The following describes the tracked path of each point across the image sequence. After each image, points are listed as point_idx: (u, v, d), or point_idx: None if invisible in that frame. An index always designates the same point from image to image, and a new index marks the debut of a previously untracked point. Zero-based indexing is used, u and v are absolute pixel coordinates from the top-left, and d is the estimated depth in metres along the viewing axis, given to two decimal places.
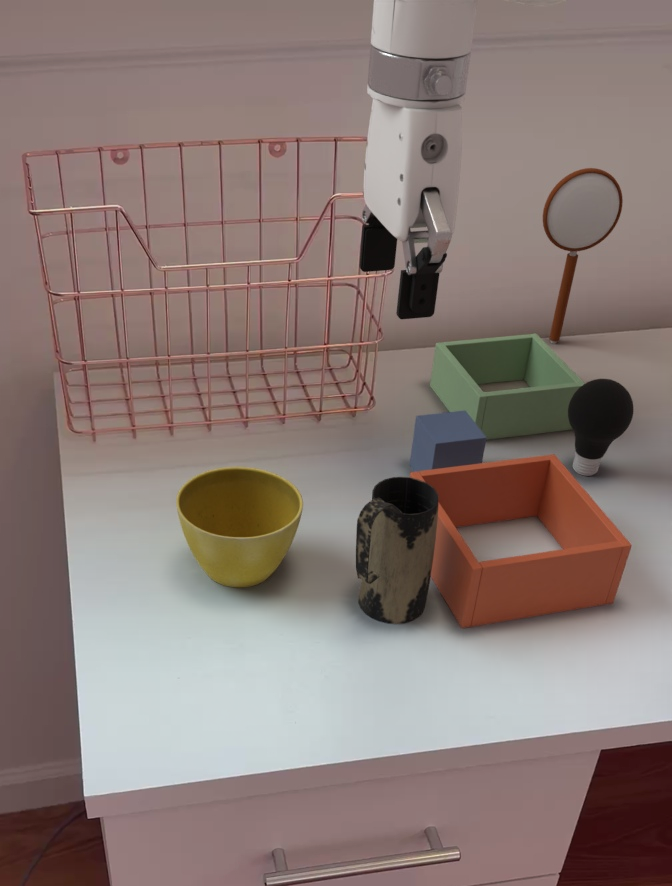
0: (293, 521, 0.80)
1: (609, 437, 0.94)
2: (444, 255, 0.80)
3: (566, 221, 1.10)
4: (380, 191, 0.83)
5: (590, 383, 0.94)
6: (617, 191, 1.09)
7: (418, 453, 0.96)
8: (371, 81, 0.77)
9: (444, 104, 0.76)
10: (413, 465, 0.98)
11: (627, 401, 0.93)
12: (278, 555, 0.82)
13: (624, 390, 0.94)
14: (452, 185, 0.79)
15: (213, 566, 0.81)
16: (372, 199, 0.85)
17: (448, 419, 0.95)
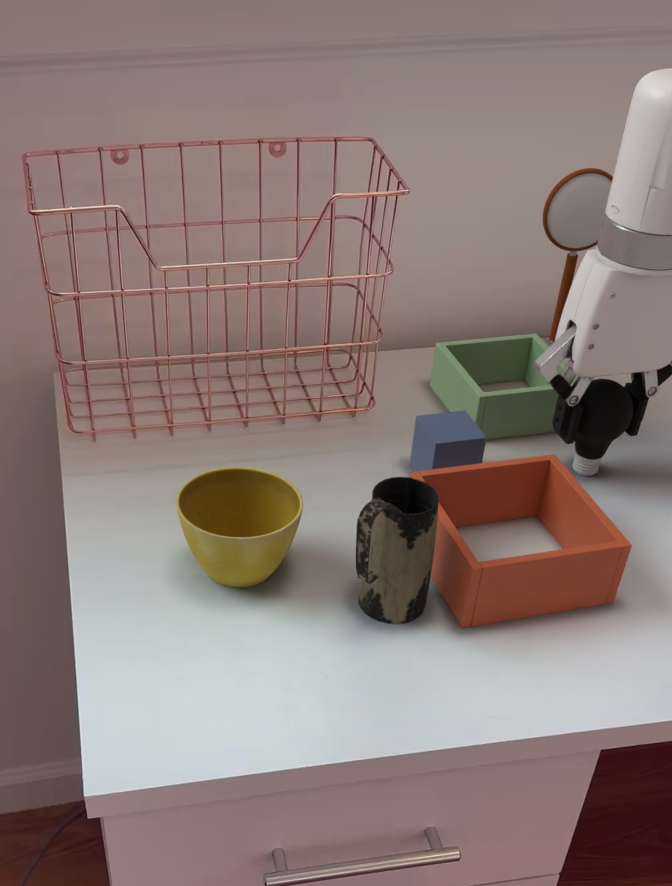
0: (293, 521, 0.80)
1: (609, 437, 0.94)
2: None
3: (566, 221, 1.10)
4: (637, 347, 0.89)
5: (590, 383, 0.94)
6: None
7: (418, 453, 0.96)
8: (668, 263, 0.82)
9: None
10: (413, 465, 0.98)
11: (627, 401, 0.93)
12: (278, 555, 0.82)
13: (624, 390, 0.93)
14: None
15: (213, 566, 0.81)
16: (612, 363, 0.89)
17: (448, 419, 0.95)
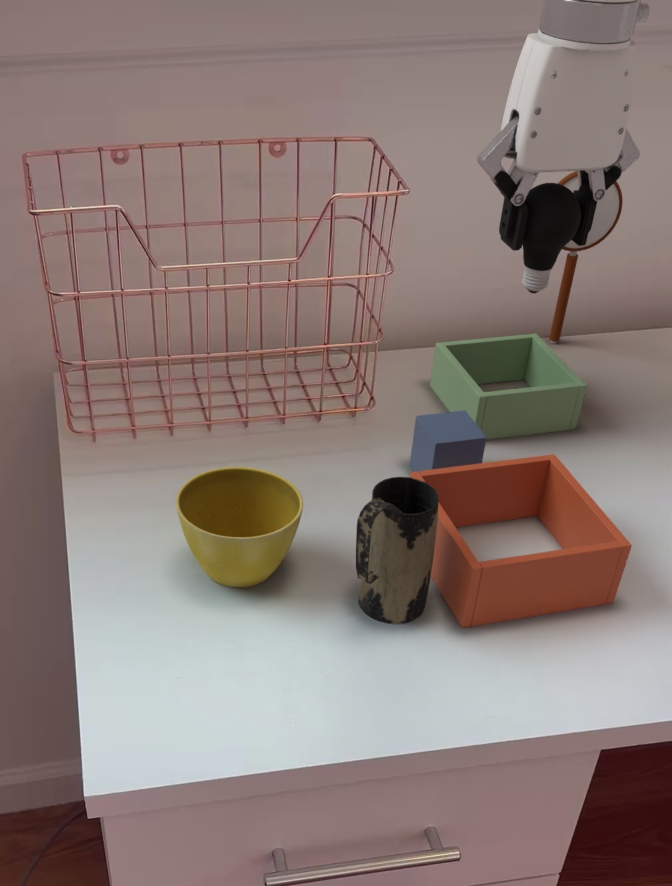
0: (293, 521, 0.80)
1: (556, 242, 0.93)
2: None
3: None
4: (582, 138, 0.87)
5: (536, 186, 0.92)
6: (617, 191, 1.09)
7: (418, 453, 0.96)
8: (609, 36, 0.81)
9: None
10: (413, 465, 0.98)
11: (574, 203, 0.92)
12: (278, 555, 0.82)
13: (571, 192, 0.92)
14: None
15: (213, 566, 0.81)
16: (556, 155, 0.88)
17: (448, 419, 0.95)
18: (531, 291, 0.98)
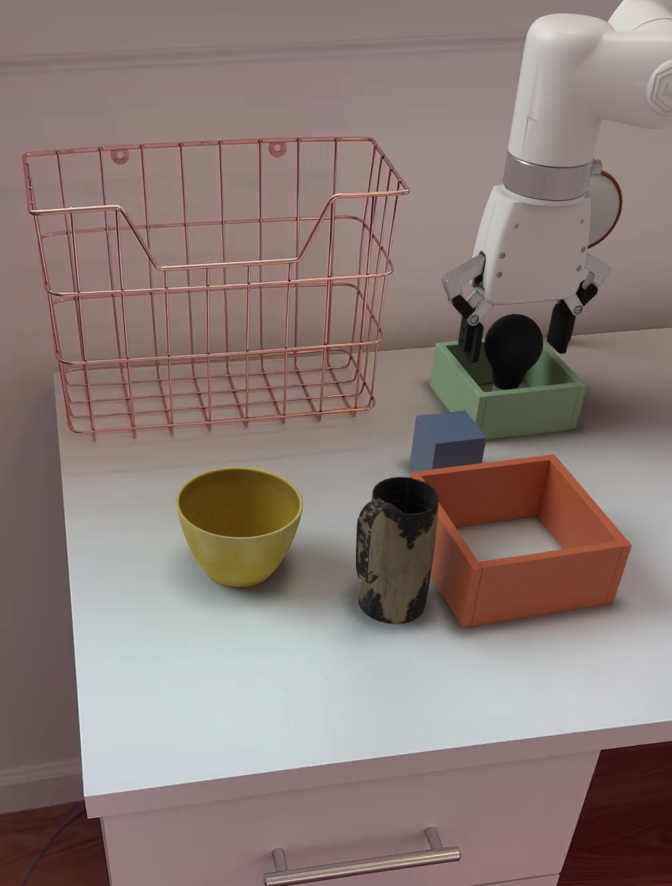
0: (293, 521, 0.80)
1: (521, 368, 1.02)
2: None
3: None
4: (543, 276, 0.96)
5: (503, 317, 1.02)
6: (617, 191, 1.09)
7: (418, 453, 0.96)
8: (564, 194, 0.90)
9: None
10: (413, 465, 0.98)
11: (536, 334, 1.01)
12: (278, 555, 0.82)
13: (534, 324, 1.01)
14: None
15: (213, 566, 0.81)
16: (520, 291, 0.97)
17: (448, 419, 0.95)
18: None
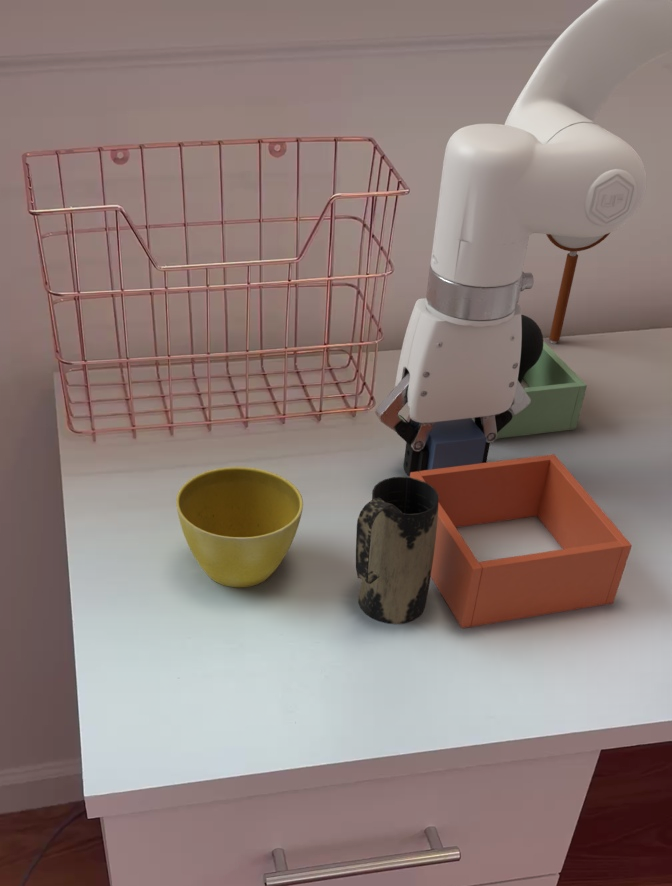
0: (293, 521, 0.80)
1: (521, 368, 1.02)
2: None
3: None
4: (472, 394, 0.90)
5: None
6: None
7: None
8: (490, 314, 0.83)
9: None
10: None
11: (536, 334, 1.01)
12: (278, 555, 0.82)
13: (534, 324, 1.01)
14: None
15: (213, 566, 0.81)
16: (448, 409, 0.90)
17: None
18: None
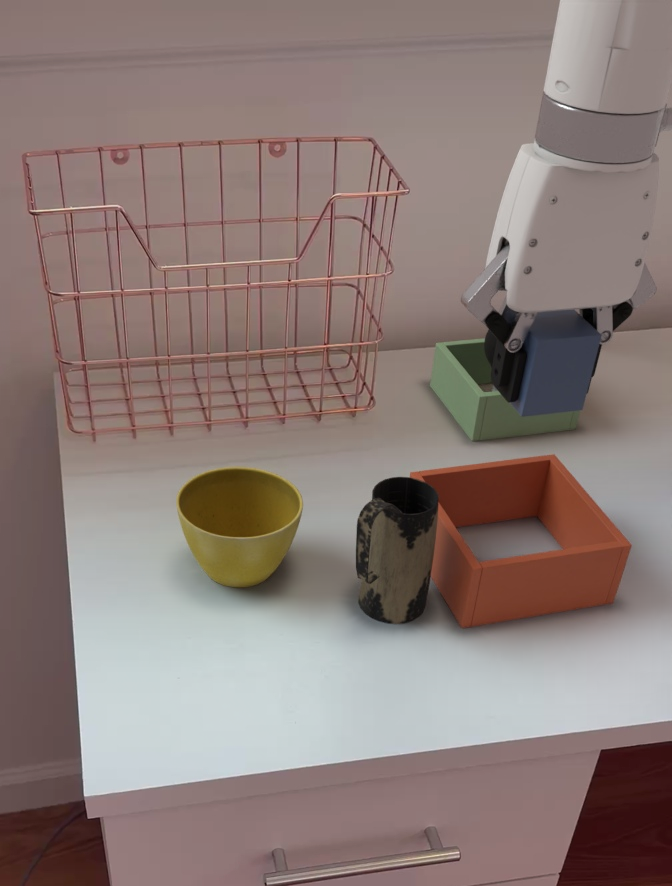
0: (293, 521, 0.80)
1: None
2: None
3: None
4: (589, 273, 0.69)
5: None
6: None
7: None
8: (625, 155, 0.63)
9: None
10: None
11: None
12: (278, 555, 0.82)
13: None
14: None
15: (213, 566, 0.81)
16: (557, 293, 0.69)
17: (549, 314, 0.74)
18: None
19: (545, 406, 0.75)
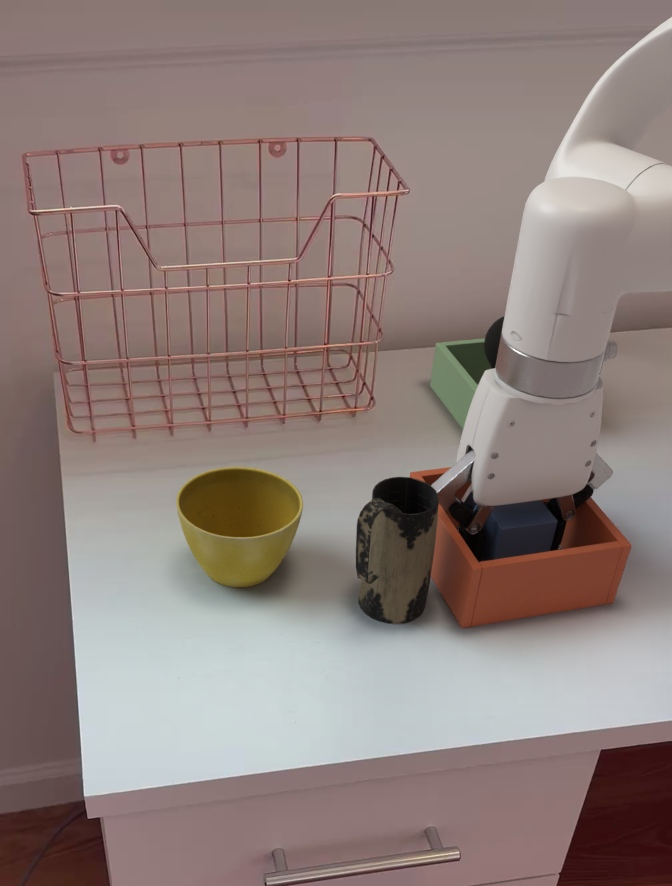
0: (293, 521, 0.80)
1: None
2: None
3: None
4: (545, 475, 0.79)
5: (503, 318, 1.02)
6: None
7: None
8: (571, 391, 0.73)
9: None
10: None
11: None
12: (278, 555, 0.82)
13: None
14: None
15: (213, 566, 0.81)
16: (517, 491, 0.80)
17: None
18: None
19: None
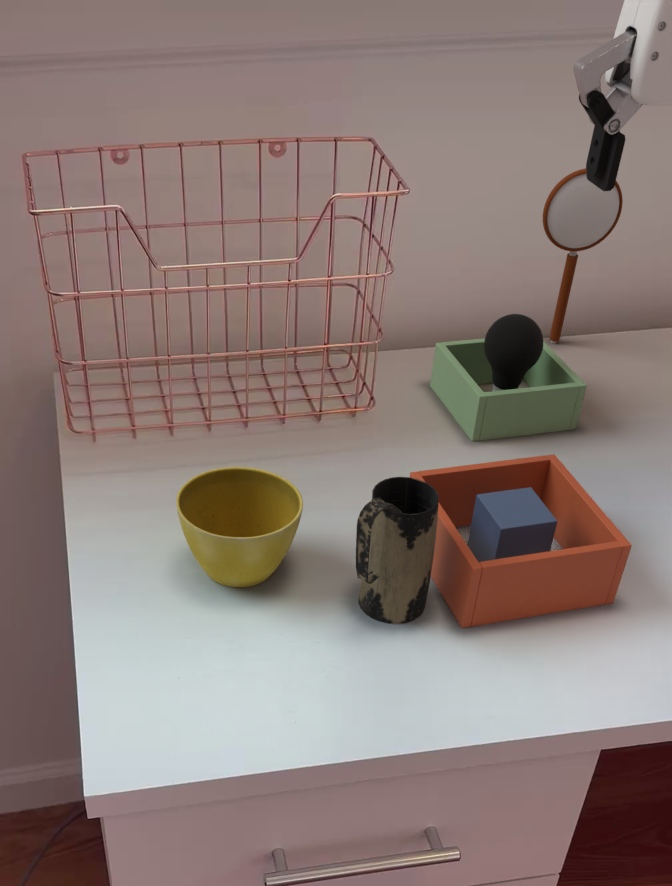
0: (293, 521, 0.80)
1: (521, 368, 1.02)
2: None
3: (566, 221, 1.10)
4: None
5: (503, 318, 1.02)
6: (617, 191, 1.09)
7: (478, 536, 0.86)
8: None
9: None
10: (472, 547, 0.87)
11: (536, 334, 1.01)
12: (278, 555, 0.82)
13: (534, 324, 1.01)
14: None
15: (213, 566, 0.81)
16: None
17: (512, 499, 0.85)
18: None
19: None
